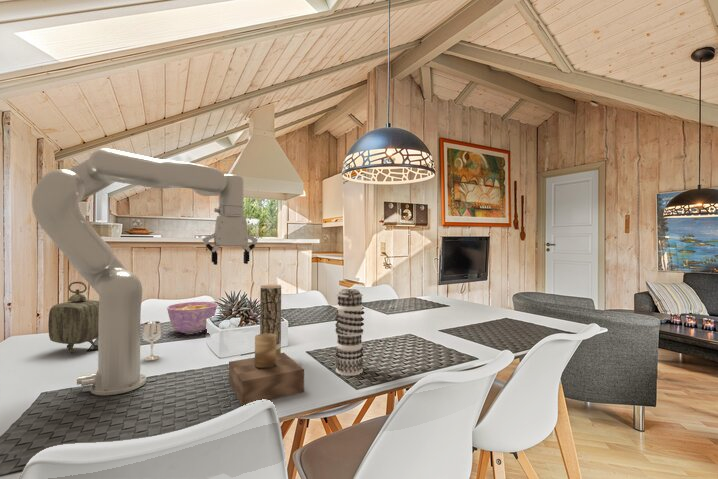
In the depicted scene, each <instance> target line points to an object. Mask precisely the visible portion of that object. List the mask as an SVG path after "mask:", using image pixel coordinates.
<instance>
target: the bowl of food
mask: <svg viewBox="0 0 718 479" xmlns="http://www.w3.org/2000/svg"><path fill="white" fill-rule="evenodd" d="M217 308H218V303H216V302H213V301H189V302H187V301H186V302H180V303H174V304H171V305H169V306H166V309H167V314H168V317H169V321H170V325H171V327H172V328H173V330H174V331H177V332H179V333H182V332H183V333H196V332H200V331H202V330H203V331H205V330H207V329H206V319H207V318H210V317H212V316H214V315H215V316H216V311H217ZM215 316H214V317H215ZM203 331H202V332H203Z"/></svg>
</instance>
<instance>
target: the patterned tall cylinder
mask: <svg viewBox="0 0 718 479" xmlns="http://www.w3.org/2000/svg"><path fill="white" fill-rule="evenodd" d="M336 296H337V304H336V306H337V307H336V311H335V312H334V315H335V317H334V318H335V319H334V320H335V321H336V323H335V330H334V331H335V334H336V335H337V341H336V347H335V351H336V352H335V356H336V358H335V373H336V374H338V375H340V376H346V377H349V376H359V375H360V373H361V374H362V373H363V370H364V369H363V367H364V364H363V362H364V358H363V357H364V353H363V351H364V349H363V348H364V347H363V342H362V335H363V334H364V329H363V328H362V327H363V326H364V325H365V323H364V322H363V321H364V320H365V318H364V317H362V315H364V314H365V311H364V309H365V307H363V304H362V303H363V298H362V296H363V293H362V294H361V292H360V290H358V289H354V288H346V289H340V291H339V292H338V293H337V294H336Z"/></svg>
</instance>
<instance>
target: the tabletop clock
mask: <svg viewBox="0 0 718 479" xmlns="http://www.w3.org/2000/svg"><path fill="white" fill-rule="evenodd" d="M74 284H79V285H82V286H84V290H81V291H80V289H79V288H78V289H75V291H74V290H72V289H71V286H72V285H74ZM87 289H88V288H87V284H85V283H84V282H82V281H72V282H71V283H70V284H68V291H70V293H73V294H72V295H71V296H70V297H69V298H68V299H67V302H61V303H56V304H54V305H53V306H51V308H50V309H49V312H48V325H47V326H48V337H49V340H50V341H52V342H54V343H58V344H62V345H63V344H65V345H66V348H67V349H68V351H67V352H68V353H69V354H73V353H75V350H74V346H75V345H80V344H84V343H86V342H88V343H90V344H91V345H92V346H93V349H94V350H98V344H96V343H95V342H94V341H93V340H96V339H98V336H99V332H98V319H99V300H95V299H87V296H85V295H84V294H83V293H85V292H86V291H87Z"/></svg>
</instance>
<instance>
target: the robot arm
mask: <svg viewBox="0 0 718 479" xmlns="http://www.w3.org/2000/svg"><path fill="white" fill-rule="evenodd" d="M114 183H122V184H129V185H134V186H138V187H139V186H140V187H146V188H151V189H162V190H164V189H170V188H177V189H179V188H181V189H190V190H193V191H194V192H195V193H196V194H197V195H200V196H203V197H213V196H214V197H215V196H217V197H219V198H218V207H216V208H214V209H213V211H214V212H213V213H217V214H218V215H217V216H216V219H215V226H214V232H213V233H211V234H210V235H208V236H205V237H203V238H202V242H203V244H204V245H205V247H206V248H207V249H208V250H209V251H210V252H211V263H213V265H214V266H215V265H216V266H217V265H218V252H217V251H218V249H219V248H221V247H241V248H242V249H243V250H244V251H243V264H244V265H248V264H249V262H250V252H251V251H252V250H253V249H254V248H255V247H256V244H257V242H258V239H257V238H256V237H254V236H252V235H251V234H249V233H248V223H247V216H244V178H243V177H242V176H241V175H239V174H234V173H233V174H229V173H227V174H224V173H223V171H221V170H219V169H218V168H215V167H212V166H211V167H210V166H207V165H202V164H198V163H194V162H193V163H192V162H185V161H177V160H171V159H160V158H154V157H151V156H147V155H146V156H145V155H140V154H137V153H132V152H131V153H130V152H127V151H122V150H117V149H112V148H99V149H97V150H95V151H94V152H92V153H91V154H90V156H89V158H88V159H86V160H84V161H82V162H81V163H79V164H76V165H75V166H73V167H70V168H69V169H64V168H63V169H62V168H60V169H53V170H51V171H48V172H47V173H46V174H44V175H43V176H42V177H41V179H39V181H38V182H37V184H36V186H35V188H34V190H33V192H32V198H31V206H32V212H33V215H34V218H35V220H36V221H37V223H38V224H39V227H41V229H42V230H43V231H44V232H45V233H46V234H47V236H48V237H49V238H50V239H51V240H52V242H53V243H54V244H55V246H56V247H57V248H58V249H59V250H60V252H62V253H63V255H65V257H66V258H67V260H68V262H69V263H70V265H71V267H72V268H74V269H75V271H76V272H78V274H79V275H80V276H81V277H82V278H83V279H84V281H86V282H87V283H88V285H89V286H90V287H91V288H92V289H93V290H94V291H95V292H96V293H97V294H98V298H99V299H98V301H99V319H98V332H99V336H98V338H97V339H98V344H97V345H98V349H97V351H98V354H97V355H98V359H97V362H98V364H97V372H95V373H94V372H93V373H92V374H91V375H81V376H77V378H76V385H81V387H84V386H85V387H86V386H88V385H91V386H90V393H92V395H95V396H113V395H121V394H125V393H128V392H131V391H134V390H137V389H139V388H141V387H142V386H143V385H146V383H147V376H146V375H145V374H144V373H143V374H142V373H141V313H142V312H141V310H142V302H143V284H142V281H141V280H140V279H139V277H138V276H137V275H136V274H135V273H133V272H131V271H129V270H128V269H127V268H126V267H125V265H124V264H123V263H122V262H121V261H120V260H119V259H118V257H117V256H116V255H115V254H114V251H113V249H112V247H111V246H110V245H109V243H107V242H106V241H105V240H104V239H103V238H102V237H101V236H100V234H98V232H97V231H96V230H95V229H94V228H93V227H92V225H91V224H90V223H89V221H88V220H87V219H86V218H85V216H84V215H83V213H82V212H81V210H80V208H79V203H80V202H82V201H84V200H86V199H87V198H90V197H91V196H93V195H95V194H97V193H98V192H100V191H102V190H104V189H107V187H109V186H110V185H112V184H114ZM212 239H213V243H214V245H213V246H212V245H211V244H210V242H209V241H210V240H212ZM249 240H250V241H251V243H250V244H249Z"/></svg>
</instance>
